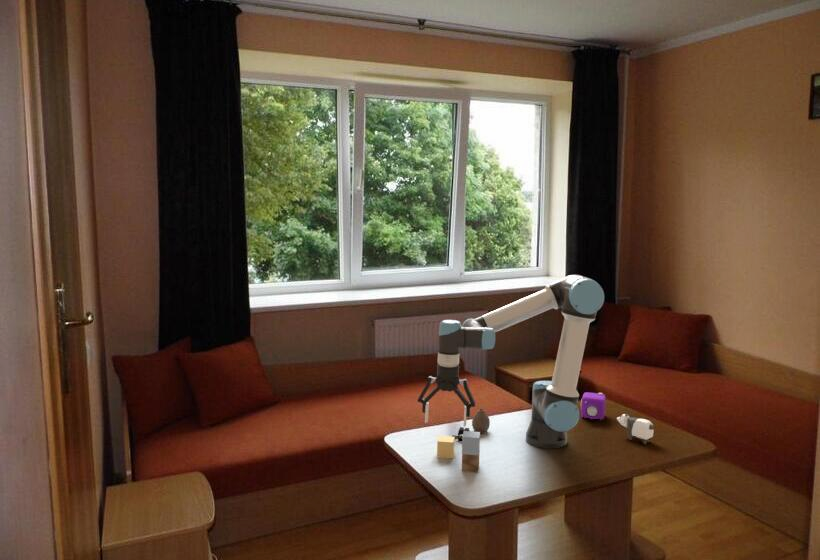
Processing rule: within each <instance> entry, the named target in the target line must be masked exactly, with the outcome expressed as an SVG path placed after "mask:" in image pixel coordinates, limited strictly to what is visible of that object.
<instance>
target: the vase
mask: <svg viewBox="0 0 820 560" xmlns="http://www.w3.org/2000/svg"><path fill="white" fill-rule="evenodd" d="M471 419H472V420H471V426H472V429H473V431H474V432H480V434H485V433H486V432H487V431H488V430H489V428H490V425H491V423H490V418H489V416H488V414H487V413H486V410H485V409H483V408H479V409H477V411H476V413H475V414H474V415H473V417H472V418H471Z"/></svg>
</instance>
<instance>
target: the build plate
mask: <svg viewBox="0 0 820 560" xmlns="http://www.w3.org/2000/svg"><path fill="white" fill-rule="evenodd" d="M464 431H471V430H470V427H464V426H463V427H459V429H458V432H457V435H453V434H451V435H452V436H451V437H455V439H454V442H460V441H462V436H463V432H464Z"/></svg>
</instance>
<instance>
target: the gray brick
mask: <svg viewBox="0 0 820 560" xmlns="http://www.w3.org/2000/svg"><path fill="white" fill-rule="evenodd" d="M480 443H481V433H480V432H476V431H474V430H473V431H471V430H470V431H464V432H463V435H462V442H461V455H462V454H468V455H479V449H480V447H481V446H480ZM480 450H481V449H480ZM479 456H480V455H479Z"/></svg>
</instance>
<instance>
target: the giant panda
mask: <svg viewBox="0 0 820 560" xmlns="http://www.w3.org/2000/svg"><path fill="white" fill-rule="evenodd" d="M616 420H617V422H618V423H619V424H620V425H621V426H623V427H625V428H627V429H626V430H627V431H626V436H627V437H629V438H633V436H636V437H637V438H640V439H641V441H644V442H648V440H651V439H652V440H653V437H654V428H655V427H654V423H652V422H651V420H648V419H645V418H638V417H633V416H632V417H631V416H630V414H629V412H627V413H623V414H622V415H621V416H618V417H617V416H616ZM627 437H626V438H627ZM633 439H634V438H633Z"/></svg>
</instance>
